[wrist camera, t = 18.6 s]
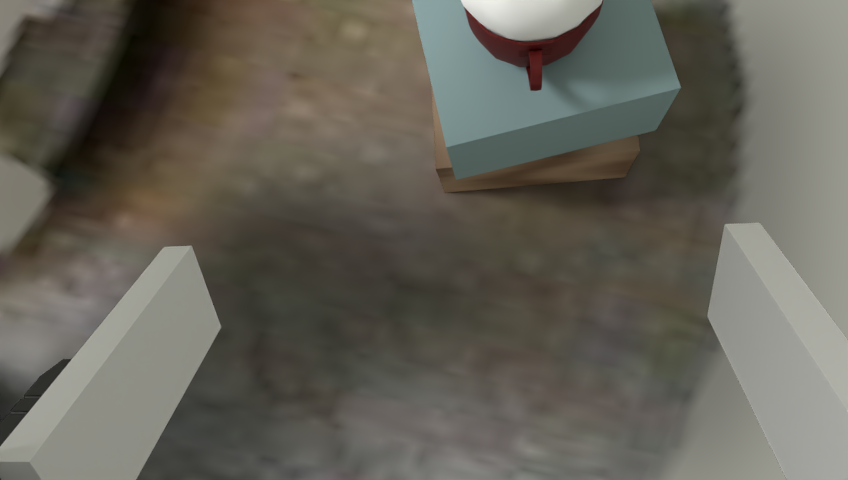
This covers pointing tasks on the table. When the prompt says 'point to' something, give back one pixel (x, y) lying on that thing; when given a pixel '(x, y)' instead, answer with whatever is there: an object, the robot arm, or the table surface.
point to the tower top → (545, 88)
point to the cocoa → (531, 30)
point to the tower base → (540, 165)
